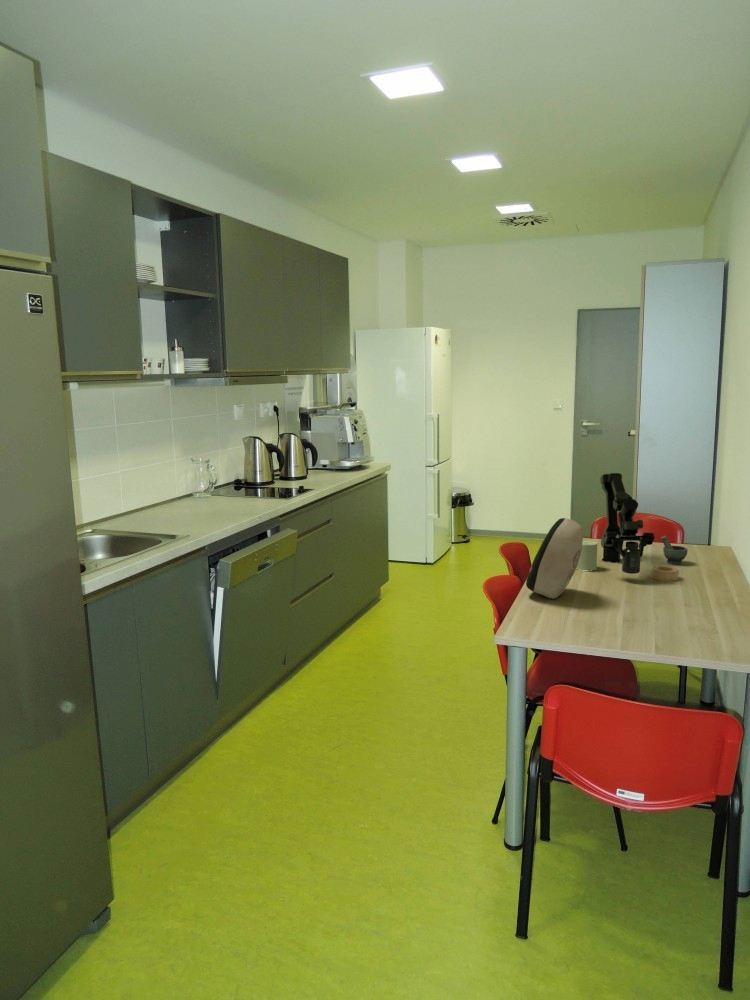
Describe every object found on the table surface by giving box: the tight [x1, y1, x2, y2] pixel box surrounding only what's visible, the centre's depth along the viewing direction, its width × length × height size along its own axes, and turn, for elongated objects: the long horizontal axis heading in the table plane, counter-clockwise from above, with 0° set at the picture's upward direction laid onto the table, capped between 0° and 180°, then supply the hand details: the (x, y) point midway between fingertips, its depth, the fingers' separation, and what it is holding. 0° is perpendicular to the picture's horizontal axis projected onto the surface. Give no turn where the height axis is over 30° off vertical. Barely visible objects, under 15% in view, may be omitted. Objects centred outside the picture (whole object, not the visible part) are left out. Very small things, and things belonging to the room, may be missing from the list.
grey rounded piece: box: [525, 517, 584, 600], centre depth 272 cm, size 22×20×30 cm
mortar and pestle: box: [660, 535, 688, 566], centre depth 317 cm, size 11×9×12 cm
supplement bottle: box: [621, 541, 642, 575], centre depth 289 cm, size 7×7×12 cm
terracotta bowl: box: [651, 565, 680, 582], centre depth 294 cm, size 10×10×4 cm
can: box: [576, 539, 599, 572], centre depth 310 cm, size 9×9×12 cm
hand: (632, 556), depth 288 cm, fingers closed on supplement bottle, 7 cm apart
